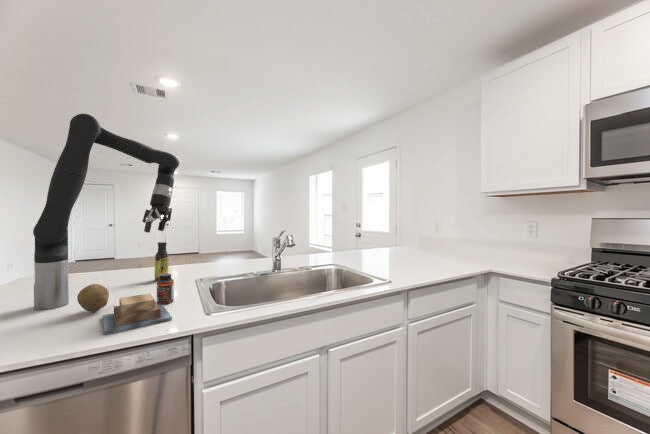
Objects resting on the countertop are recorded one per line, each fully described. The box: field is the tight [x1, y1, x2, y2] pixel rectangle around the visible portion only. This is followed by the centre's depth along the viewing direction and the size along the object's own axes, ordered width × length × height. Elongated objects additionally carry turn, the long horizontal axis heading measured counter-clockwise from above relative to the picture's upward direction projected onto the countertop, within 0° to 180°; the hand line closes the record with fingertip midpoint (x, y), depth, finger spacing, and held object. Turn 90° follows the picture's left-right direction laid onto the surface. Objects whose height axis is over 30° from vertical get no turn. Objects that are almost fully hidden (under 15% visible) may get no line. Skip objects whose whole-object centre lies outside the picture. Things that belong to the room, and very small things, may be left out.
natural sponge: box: [76, 283, 110, 313], centre depth 102 cm, size 9×9×10 cm
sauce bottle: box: [154, 241, 170, 282], centre depth 146 cm, size 7×6×20 cm
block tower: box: [102, 292, 173, 336], centre depth 95 cm, size 18×16×7 cm
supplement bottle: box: [156, 273, 175, 305], centre depth 112 cm, size 6×6×11 cm
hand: (153, 231), depth 120 cm, fingers open, 8 cm apart
